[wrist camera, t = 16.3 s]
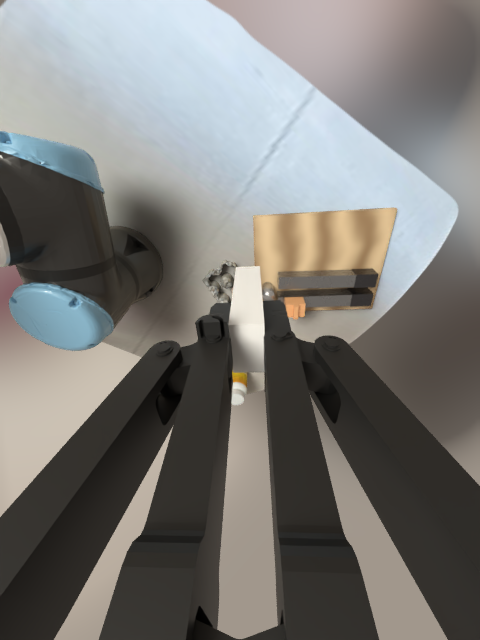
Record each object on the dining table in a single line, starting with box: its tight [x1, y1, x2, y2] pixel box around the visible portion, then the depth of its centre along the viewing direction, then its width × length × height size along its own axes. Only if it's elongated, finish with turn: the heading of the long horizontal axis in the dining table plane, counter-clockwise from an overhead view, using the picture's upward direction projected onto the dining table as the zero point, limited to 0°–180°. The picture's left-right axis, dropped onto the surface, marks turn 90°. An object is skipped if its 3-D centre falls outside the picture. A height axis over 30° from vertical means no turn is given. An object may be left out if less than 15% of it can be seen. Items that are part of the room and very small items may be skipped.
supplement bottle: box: [231, 370, 247, 405], centre depth 64 cm, size 5×5×10 cm
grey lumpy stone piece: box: [203, 260, 237, 303], centre depth 53 cm, size 11×8×4 cm
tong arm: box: [277, 268, 379, 289], centre depth 50 cm, size 18×3×3 cm, turn 93°
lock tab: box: [284, 297, 306, 319], centre depth 49 cm, size 4×3×4 cm
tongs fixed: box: [262, 282, 373, 307], centre depth 51 cm, size 22×5×4 cm, turn 94°
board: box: [253, 208, 397, 311], centre depth 51 cm, size 25×20×1 cm
